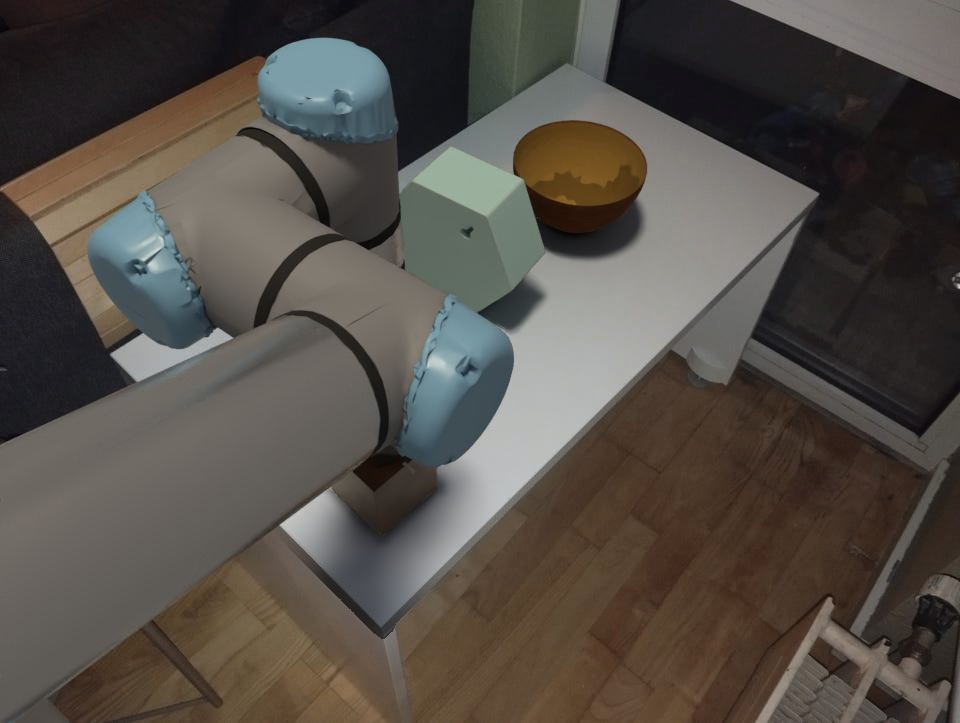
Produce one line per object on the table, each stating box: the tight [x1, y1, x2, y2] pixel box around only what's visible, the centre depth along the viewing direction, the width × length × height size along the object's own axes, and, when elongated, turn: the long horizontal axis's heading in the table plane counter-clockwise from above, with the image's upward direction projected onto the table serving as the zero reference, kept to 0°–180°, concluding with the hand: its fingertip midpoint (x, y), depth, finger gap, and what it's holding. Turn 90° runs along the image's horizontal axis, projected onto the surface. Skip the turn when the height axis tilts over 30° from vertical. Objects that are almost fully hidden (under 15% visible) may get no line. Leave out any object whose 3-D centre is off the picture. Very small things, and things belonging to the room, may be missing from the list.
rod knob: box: [372, 445, 399, 468], centre depth 71 cm, size 6×2×7 cm, turn 24°
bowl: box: [512, 119, 648, 234], centre depth 105 cm, size 18×18×10 cm
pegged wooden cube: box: [330, 453, 438, 538], centre depth 78 cm, size 10×10×10 cm
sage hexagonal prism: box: [399, 146, 546, 314], centre depth 93 cm, size 17×8×21 cm
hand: (377, 434), depth 73 cm, fingers closed on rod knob, 2 cm apart
